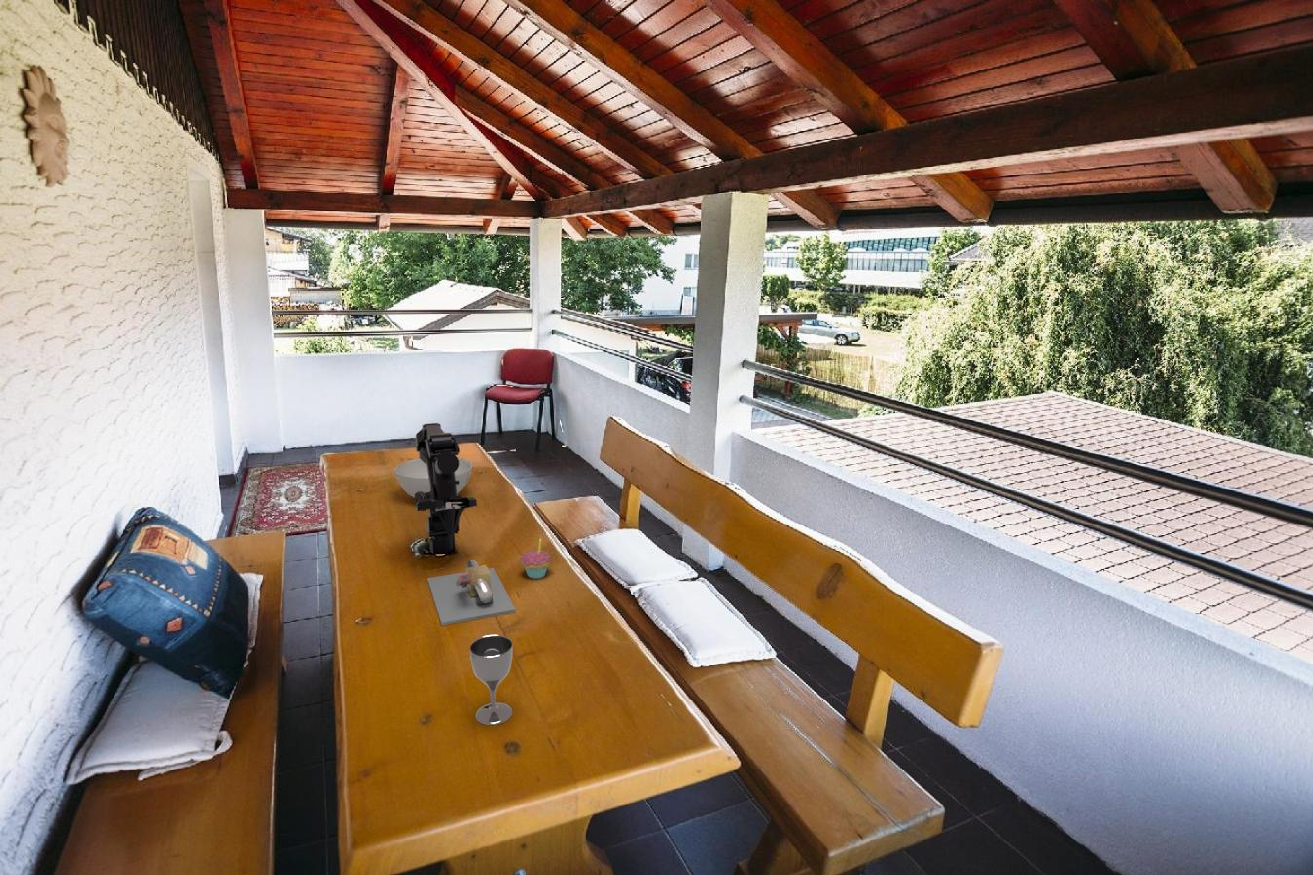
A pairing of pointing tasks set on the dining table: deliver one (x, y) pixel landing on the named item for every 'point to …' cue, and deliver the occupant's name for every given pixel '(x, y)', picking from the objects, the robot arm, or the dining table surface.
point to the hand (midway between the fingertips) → (451, 535)
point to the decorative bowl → (416, 476)
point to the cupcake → (535, 562)
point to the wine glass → (492, 674)
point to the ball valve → (479, 583)
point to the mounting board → (466, 599)
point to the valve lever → (464, 580)
